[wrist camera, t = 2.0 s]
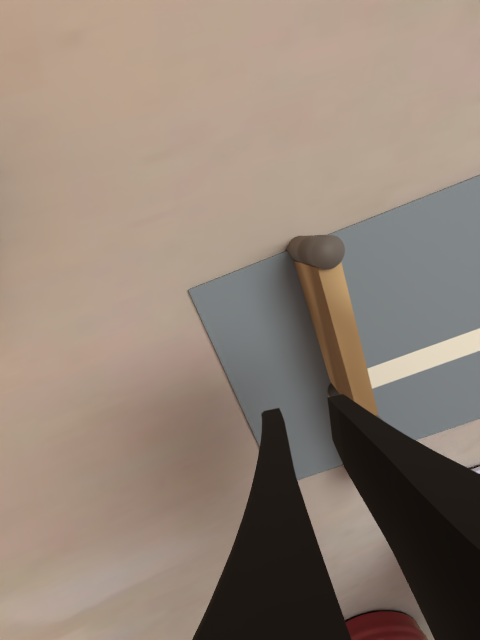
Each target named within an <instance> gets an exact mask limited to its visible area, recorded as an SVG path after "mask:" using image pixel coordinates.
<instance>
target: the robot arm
mask: <svg viewBox="0 0 480 640" xmlns="http://www.w3.org/2000/svg"><path fill="white" fill-rule="evenodd" d="M327 399H328V407H329V416H330V425H331V433H332V440H333V443H334V445H335V447H336V449H337V452H338V454H339V456H340V458H341V461H342V463H343V465H344V467H345V469H346V471H347V472H348V474H349V476H350V478H351V479H352V481H353V483H354V485H355V486H356V488H357V490H358V492H359V493H360V495H361V497H362V498H363V500H364V502H365V504H366V505H367V507H368V509H369V510H370V512H371V514H372V516H373V517H374V519H375V521H376V523H377V524H378V526H379V528H380V529H381V531H382V533H383V535H384V536H385V538H386V540H387V542H388V544H389V546H390V548H391V549H392V551H393V553H394V555H395V557H396V559H397V561H398V563H399V565H400V568H401V570H402V572H403V574H404V576H405V578H406V580H407V582H408V584H409V586H410V588H411V590H412V592H413V594H414V596H415V599H416V601H417V603H418V605H419V607H420V609H421V611H422V613H423V615H424V618H425V620H426V622H427V624H428V626H429V628H430V630H431V632H432V635H433V637H434V639H435V640H480V467H477V468H474V469H469V468H467V467H465V466H463V465H461V464H459V463H457V462H455V461H453V460H451V459H449V458H447V457H445V456H443V455H441V454H439V453H437V452H435V451H433V450H431V449H430V448H428V447H426V446H424V445H423V444H421V443H419V442H417V441H416V440H414V439H412V438H410V437H409V436H407V435H405V434H404V433H402V432H400V431H399V430H397V429H395V428H394V427H392V426H391V425H389V424H387V423H386V422H384V421H383V420H381V419H380V418H378V417H377V416H375V415H374V414H372V413H371V412H369V411H368V410H366V409H365V408H363V407H362V406H360V405H359V404H357V403H356V402H354V401H353V400H351V399H350V398H348V397H347V396H345V395H344V394H341V395H336V396H331V397H327ZM261 416H262V433H261V442H260V449H259V455H258V461H257V466H256V470H255V475H254V479H253V484H252V488H251V491H250V495H249V499H248V502H247V506H246V509H245V512H244V515H243V519H242V521H241V524H240V527H239V530H238V533H237V536H236V539H235V542H234V544H233V547H232V550H231V552H230V555H229V558H228V560H227V563H226V565H225V567H224V570H223V572H222V575H221V577H220V579H219V582H218V584H217V586H216V589H215V591H214V594H213V596H212V598H211V601H210V603H209V605H208V608H207V610H206V612H205V614H204V616H203V618H202V620H201V623H200V625H199V627H198V629H197V631H196V633H195V635H194V637H193V639H192V640H351V637H350V634H349V631H348V628H347V626H346V623H345V620H344V617H343V614H342V612H341V609H340V606H339V603H338V600H337V598H336V595H335V592H334V589H333V586H332V583H331V580H330V577H329V574H328V571H327V569H326V566H325V563H324V560H323V557H322V554H321V551H320V548H319V545H318V542H317V539H316V536H315V533H314V530H313V527H312V524H311V521H310V518H309V515H308V512H307V509H306V506H305V503H304V500H303V497H302V494H301V491H300V488H299V485H298V482H297V478H296V474H295V470H294V466H293V461H292V456H291V451H290V446H289V441H288V436H287V431H286V426H285V421H284V418H283V416H282V413H281V411H280V408H276V409H271V410H266V411H263V413H262V414H261Z"/></svg>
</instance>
